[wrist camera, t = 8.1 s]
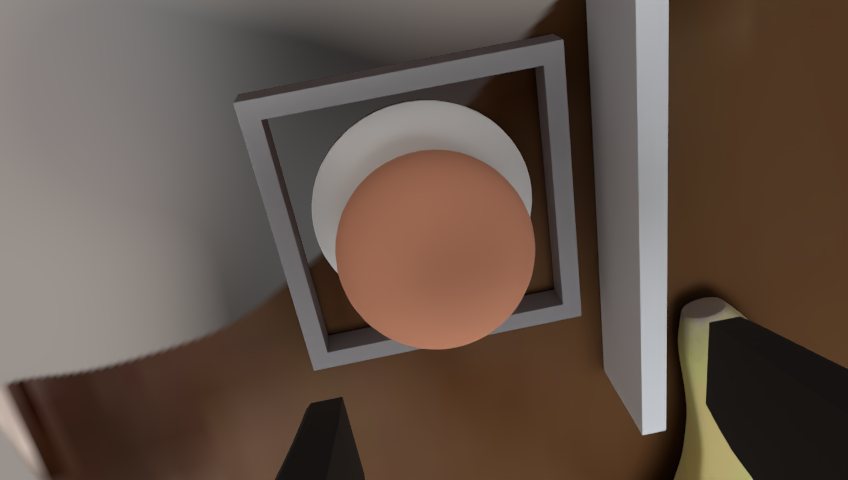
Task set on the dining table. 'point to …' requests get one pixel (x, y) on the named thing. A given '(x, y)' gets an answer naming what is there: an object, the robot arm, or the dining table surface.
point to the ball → (435, 249)
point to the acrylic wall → (632, 196)
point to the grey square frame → (407, 133)
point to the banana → (703, 397)
